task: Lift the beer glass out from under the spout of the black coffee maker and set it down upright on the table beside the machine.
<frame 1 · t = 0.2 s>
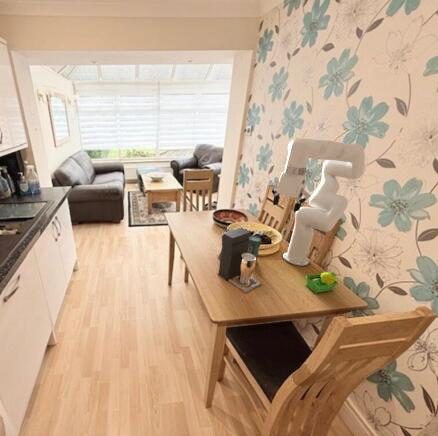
hand: (285, 207, 109), 37 cm above the table, tool pointing down, fingers open, 9 cm apart
coffeepot: (226, 257, 138), on the table
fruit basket: (319, 289, 113), on the table
coffee maker: (236, 278, 121), on the table
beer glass: (243, 282, 118), resting on coffee maker
can: (249, 262, 134), on the table
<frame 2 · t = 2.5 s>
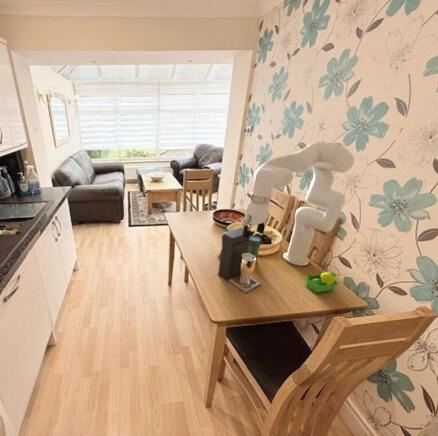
hand: (252, 234, 107), 27 cm above the table, tool pointing down, fingers open, 9 cm apart
nothing on the table moved.
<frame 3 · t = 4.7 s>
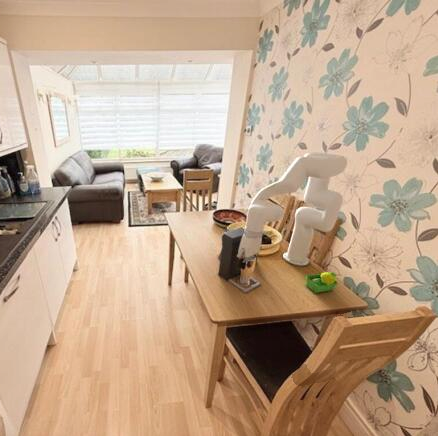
hand: (246, 265, 113), 10 cm above the table, tool pointing down, fingers closed on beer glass, 7 cm apart
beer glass: (243, 282, 118), resting on coffee maker, touching gripper
everything else where it was.
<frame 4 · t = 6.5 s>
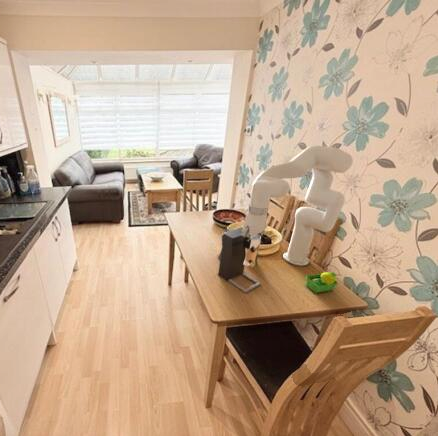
hand: (251, 245, 109), 21 cm above the table, tool pointing down, fingers closed on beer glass, 7 cm apart
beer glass: (248, 263, 113), point 11 cm above the table, touching gripper
everything else where it was.
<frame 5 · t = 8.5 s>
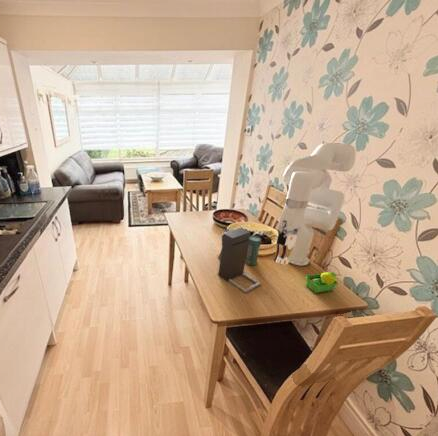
hand: (286, 241, 102), 26 cm above the table, tool pointing down, fingers closed on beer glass, 7 cm apart
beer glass: (280, 261, 106), point 16 cm above the table, touching gripper
everything else where it was.
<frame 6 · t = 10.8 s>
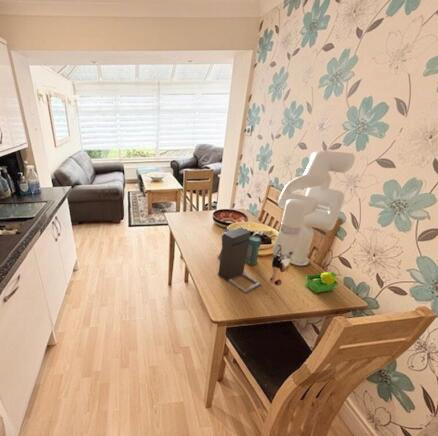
hand: (280, 263, 107), 15 cm above the table, tool pointing down, fingers closed on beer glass, 7 cm apart
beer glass: (276, 282, 111), point 4 cm above the table, touching gripper
everything else where it was.
when the fingers open (10 cm above the table, at t = 12.5 s): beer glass stays where it is, on the table.
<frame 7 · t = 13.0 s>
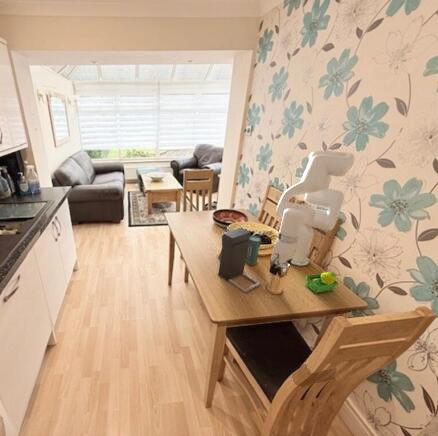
hand: (279, 270, 108), 11 cm above the table, tool pointing down, fingers open, 9 cm apart
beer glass: (274, 290, 113), on the table
everything else where it was.
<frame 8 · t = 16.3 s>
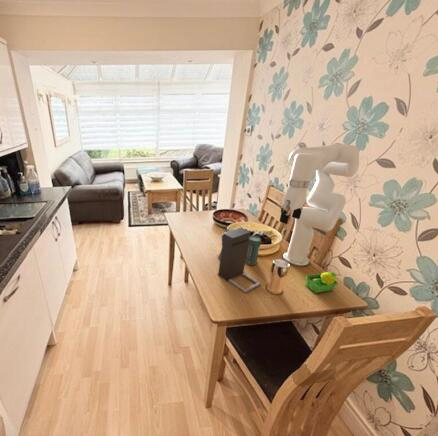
hand: (289, 220, 107), 32 cm above the table, tool pointing down, fingers open, 9 cm apart
nothing on the table moved.
at the end: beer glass inside the target area (0.0 cm from its centre), on the table; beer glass tilted 0°; the gripper is holding nothing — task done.
